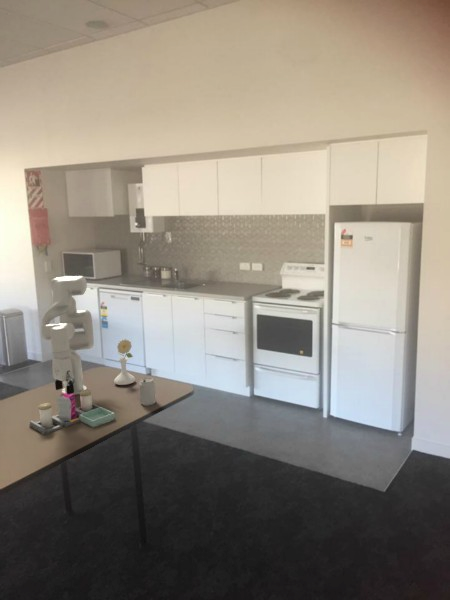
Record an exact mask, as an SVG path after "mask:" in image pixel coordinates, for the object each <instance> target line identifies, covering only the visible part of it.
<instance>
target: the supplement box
mask: <svg viewBox="0 0 450 600" xmlns="http://www.w3.org/2000/svg"><path fill="white" fill-rule="evenodd" d="M75 396H76V395H75V394H69V395H68V394H67V393H63V394H62V393H61V394H60V395H59V396H57V398H56V401H57V412H58V414H57V415H58V416H59V419H61V420H63V421H65V423H66V422H69V421H70V420H73V419H76V418H77V416H76V408H77V407H76V399H75V398H76V397H75Z"/></svg>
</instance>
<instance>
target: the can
mask: <svg viewBox="0 0 450 600" xmlns="http://www.w3.org/2000/svg"><path fill="white" fill-rule="evenodd" d="M138 386H139V400H140V401H139V402H140V403H141V404H142V406H146V407H147V406H148V407H149V406H152V405H154V404H155V403H156V402H157V395H156V393H157V392H156V382H155V380H154V378H153V377H145V378H144V377H143V378H141V379H140V381H139V384H138Z"/></svg>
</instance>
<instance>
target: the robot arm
mask: <svg viewBox="0 0 450 600" xmlns="http://www.w3.org/2000/svg"><path fill="white" fill-rule="evenodd" d="M87 282H88V281H87V279H86V278H85V276H83V275H78V276H77V275H75V276H58V277H55V278H52V279H51V281H50V287H51V290H52V305H51V306H50V307H48V309H47V310H46V311H45V312H44V313H43V316H42V318H41V328H40V330H41V333H40V334H41V337H42V339H43V340H45V341H50V342H51V343H50V345H51V354H52V363H51V366H52V369H51V370H52V378H53V380H54V387H55V390H56V391H59V390H61V395H62V394H63V393H67V394H68V395H69V394H75V396H76V395H80V392H81V391H83V390H88V389H87V388H88V387H87V386H86V385H85V384H84V377H83V365H82V357H81V355H80V354H79V353H78V352H77V351H81V350H82V351H83V350H84V351H85V350H90V349H92V348H94V346H95V345H94V343H95V338H94V337H95V336H94V329H93V328H94V327H93V316H92V314H91V312H90V310H88V309H77V302H76V300H75V298H74V297H73V296H75V297H76V296H84V294H85V293H86V292H87V287H88V283H87ZM58 317H59V322H58V323H57V322H56V323H53V322H52V323H51V321H53V320H55V318H58ZM80 329H82V330H80ZM76 330H78V331H76ZM79 330H80V331H79Z"/></svg>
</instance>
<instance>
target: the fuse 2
mask: <svg viewBox="0 0 450 600" xmlns="http://www.w3.org/2000/svg"><path fill="white" fill-rule="evenodd" d="M79 396H80V397H79V400H80V407H81V411H83V412H88V411H91V410H93V409H92V403H93V399H92V398H93V397H92V390H90V389H87V390H83V391H81V392H80V394H79Z"/></svg>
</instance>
